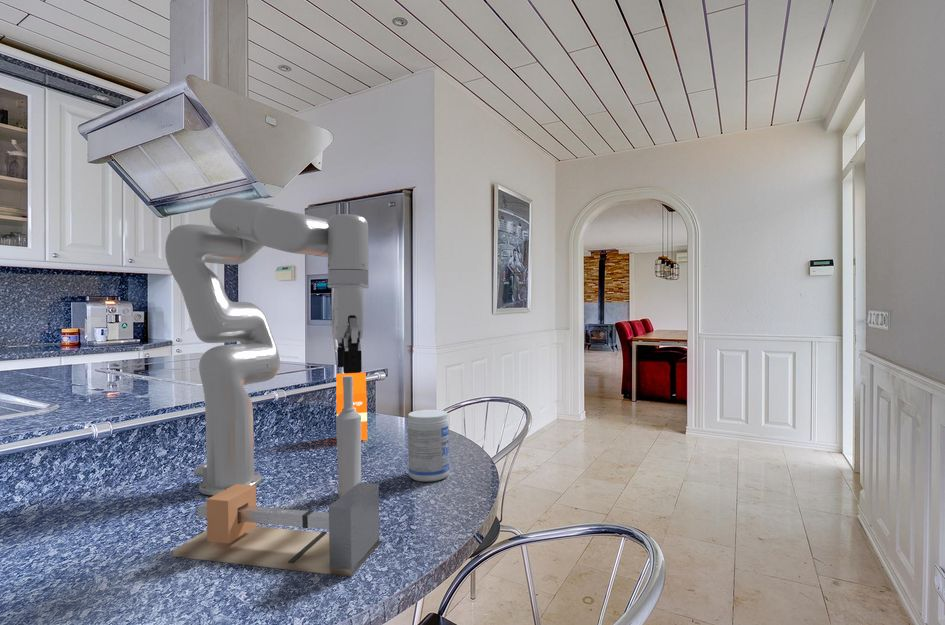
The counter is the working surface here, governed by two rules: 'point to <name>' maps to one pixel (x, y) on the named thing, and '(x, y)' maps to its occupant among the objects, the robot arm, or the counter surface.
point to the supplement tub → (428, 445)
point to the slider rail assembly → (331, 524)
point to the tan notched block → (229, 513)
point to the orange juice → (354, 398)
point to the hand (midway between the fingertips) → (349, 369)
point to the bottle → (348, 441)
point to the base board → (267, 550)
